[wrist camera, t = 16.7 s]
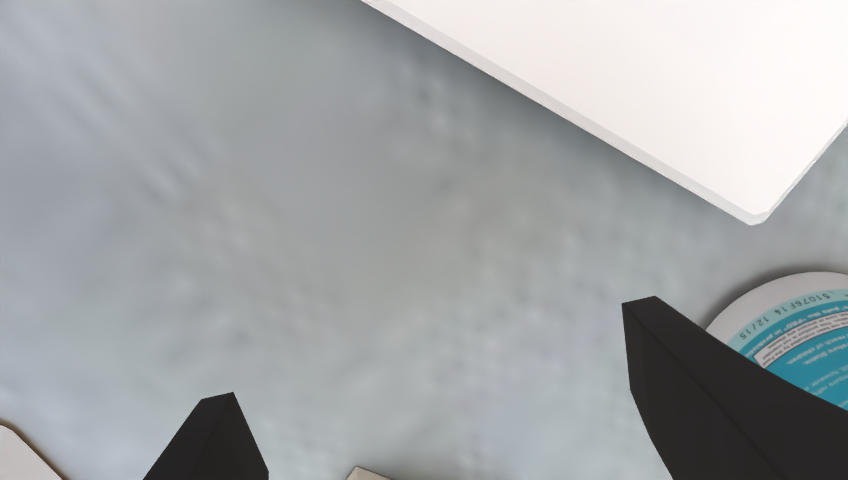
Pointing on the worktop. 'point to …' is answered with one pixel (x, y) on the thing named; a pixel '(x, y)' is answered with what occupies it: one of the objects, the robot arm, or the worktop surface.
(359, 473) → the beige block
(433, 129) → the worktop surface
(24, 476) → the cup
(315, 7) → the worktop surface
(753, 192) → the plate
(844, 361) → the pill bottle
